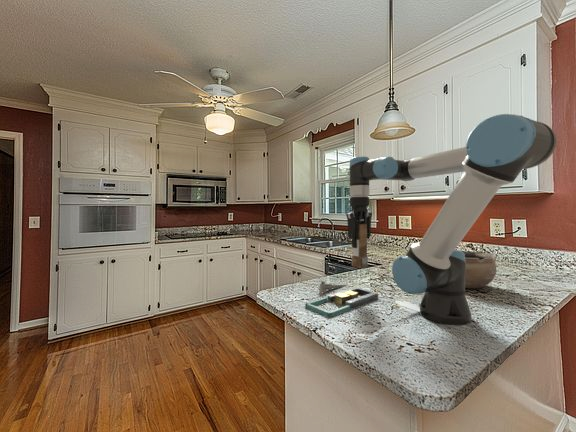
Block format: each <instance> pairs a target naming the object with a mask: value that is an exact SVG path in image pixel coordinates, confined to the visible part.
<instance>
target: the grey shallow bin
mask: <svg viewBox="0 0 576 432" xmlns="http://www.w3.org/2000/svg"><path fill="white" fill-rule="evenodd" d="M347 291H353V292H357V293H358V298H355V299H352V300H349V301H346V305H340V304H337V303H335V294H339V293H344V292H347ZM326 298H327V302H330V303H332V304H335V305H338V306H341V307H344V306H347V305H349V306H350V310H354V309H355V308H358V307H362V306H363V305H366V304H369V303H372V302H374V301H378V300H379V293H378V292H374V291H372V290H371V291H370V290H367V289H364V288H360V287H356V286H354V287H352V288H351V287H350V288H348V289H345V290H342V291H337V292H335V293H331V294H328V295H327V296H326Z"/></svg>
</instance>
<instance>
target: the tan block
mask: <svg viewBox="0 0 576 432" xmlns="http://www.w3.org/2000/svg"><path fill="white" fill-rule="evenodd" d="M349 300H350V295H347V294H345V293H339V294H335V303H337V304H336V305H338V304H340V305H339V306H341V305H346V301H349ZM335 303H334V304H335Z"/></svg>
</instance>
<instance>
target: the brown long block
mask: <svg viewBox="0 0 576 432" xmlns="http://www.w3.org/2000/svg"><path fill="white" fill-rule="evenodd" d="M357 240H359V256H353V248H351V249H352V252H351V253H352V254H351V266H352V267H355V268H358V269H366V268H368V267H369V258H368V238H367V224H360V225H359V233H358V239H357Z"/></svg>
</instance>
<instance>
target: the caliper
mask: <svg viewBox="0 0 576 432" xmlns="http://www.w3.org/2000/svg"><path fill="white" fill-rule="evenodd" d="M346 286H348V284H332V283H326V281H325V280H324V281H321V283H320V284H319V289H318V291H319V292H318V294H320V295H321V294H323V293H324V294H325V293H327V291H332V289H339V288H340V289H341V288H343V287H346Z"/></svg>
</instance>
